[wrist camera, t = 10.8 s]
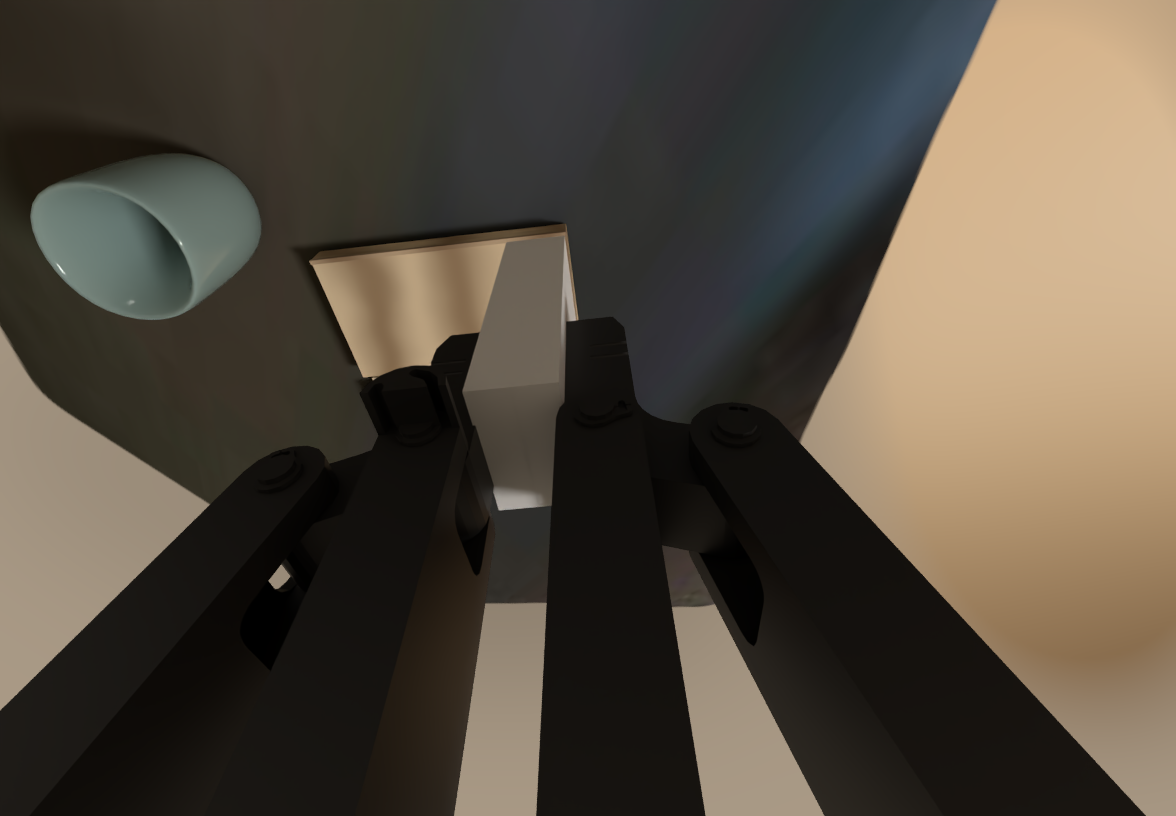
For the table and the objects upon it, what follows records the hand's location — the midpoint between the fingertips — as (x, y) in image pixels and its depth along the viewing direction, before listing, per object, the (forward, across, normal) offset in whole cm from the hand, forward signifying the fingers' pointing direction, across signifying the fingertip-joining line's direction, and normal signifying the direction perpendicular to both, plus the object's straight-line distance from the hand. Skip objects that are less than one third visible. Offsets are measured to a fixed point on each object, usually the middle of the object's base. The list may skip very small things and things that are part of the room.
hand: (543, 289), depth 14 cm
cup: (+25, -24, -2) cm, 34 cm away
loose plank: (+24, -10, -11) cm, 28 cm away
